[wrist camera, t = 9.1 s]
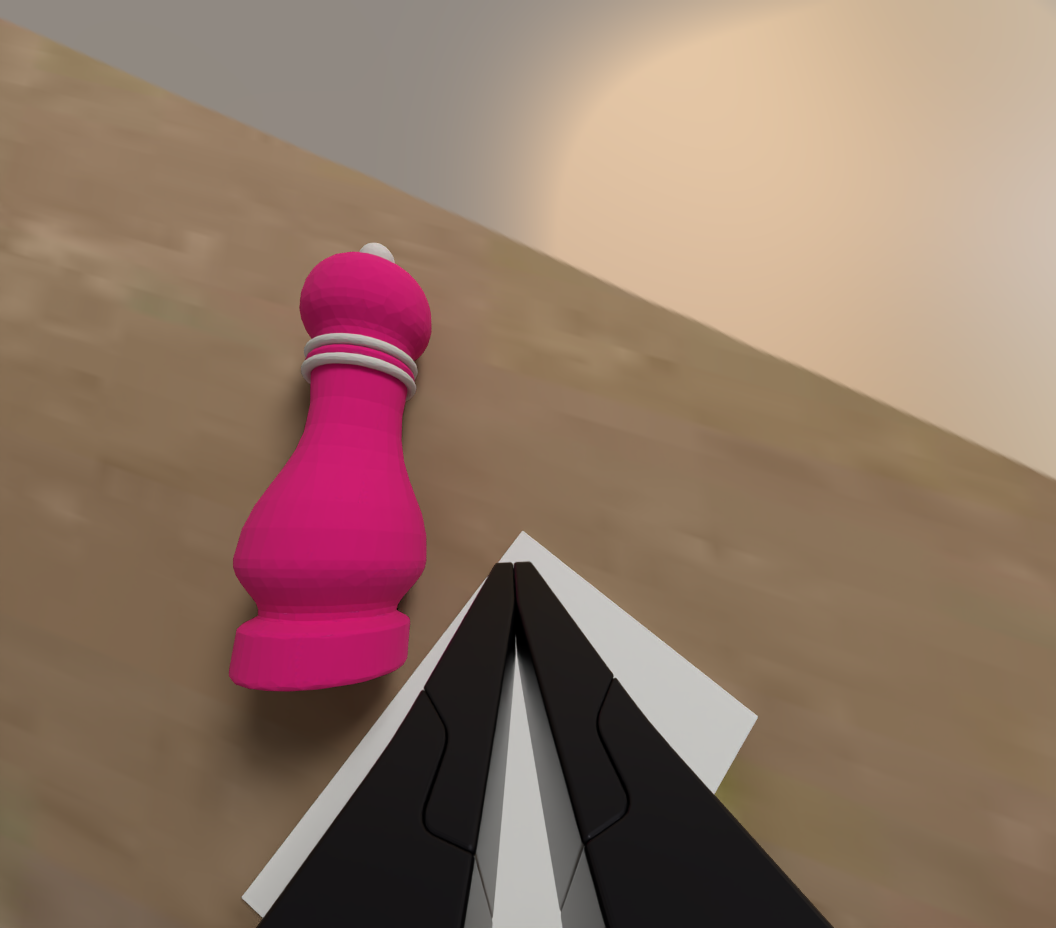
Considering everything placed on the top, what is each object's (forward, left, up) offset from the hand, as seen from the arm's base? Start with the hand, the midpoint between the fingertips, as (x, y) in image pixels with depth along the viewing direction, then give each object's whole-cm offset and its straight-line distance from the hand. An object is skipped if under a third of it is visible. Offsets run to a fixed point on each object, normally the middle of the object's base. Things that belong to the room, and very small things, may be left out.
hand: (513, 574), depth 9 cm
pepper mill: (-8, +3, -8) cm, 12 cm away
